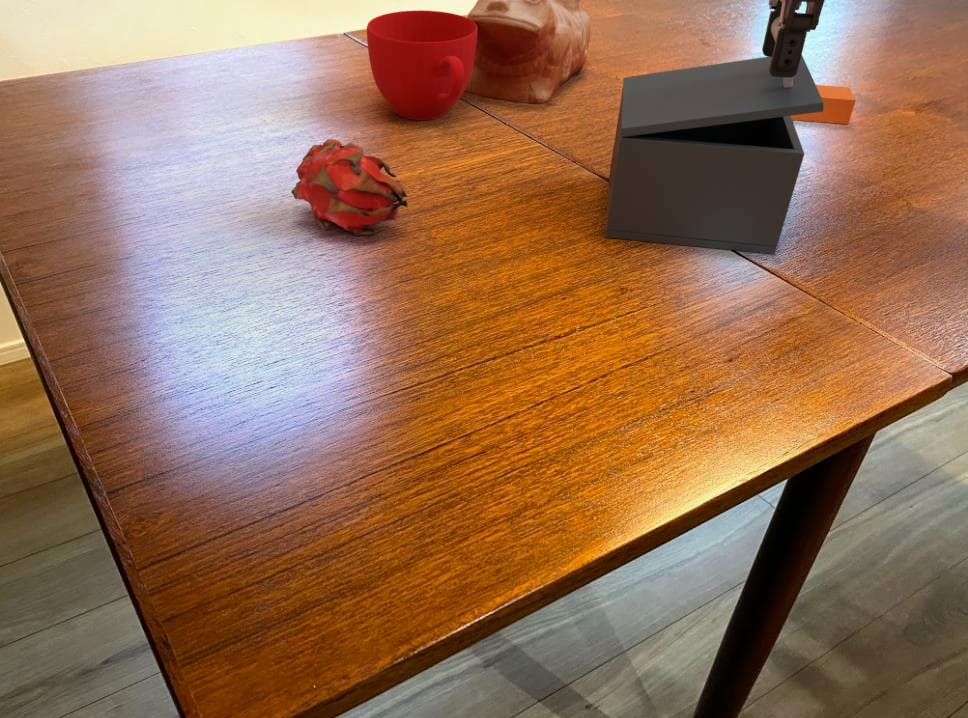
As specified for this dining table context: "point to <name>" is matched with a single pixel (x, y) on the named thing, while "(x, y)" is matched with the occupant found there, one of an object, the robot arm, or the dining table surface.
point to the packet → (832, 106)
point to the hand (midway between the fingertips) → (778, 64)
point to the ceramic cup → (421, 60)
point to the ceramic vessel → (527, 47)
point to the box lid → (715, 96)
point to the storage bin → (705, 184)
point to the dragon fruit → (348, 187)
